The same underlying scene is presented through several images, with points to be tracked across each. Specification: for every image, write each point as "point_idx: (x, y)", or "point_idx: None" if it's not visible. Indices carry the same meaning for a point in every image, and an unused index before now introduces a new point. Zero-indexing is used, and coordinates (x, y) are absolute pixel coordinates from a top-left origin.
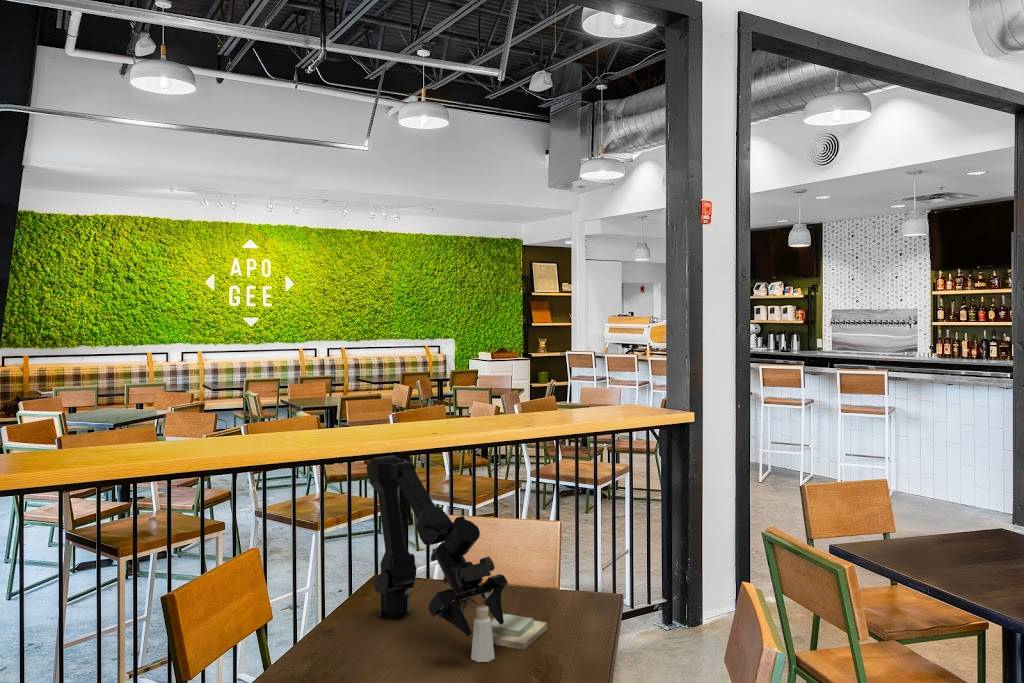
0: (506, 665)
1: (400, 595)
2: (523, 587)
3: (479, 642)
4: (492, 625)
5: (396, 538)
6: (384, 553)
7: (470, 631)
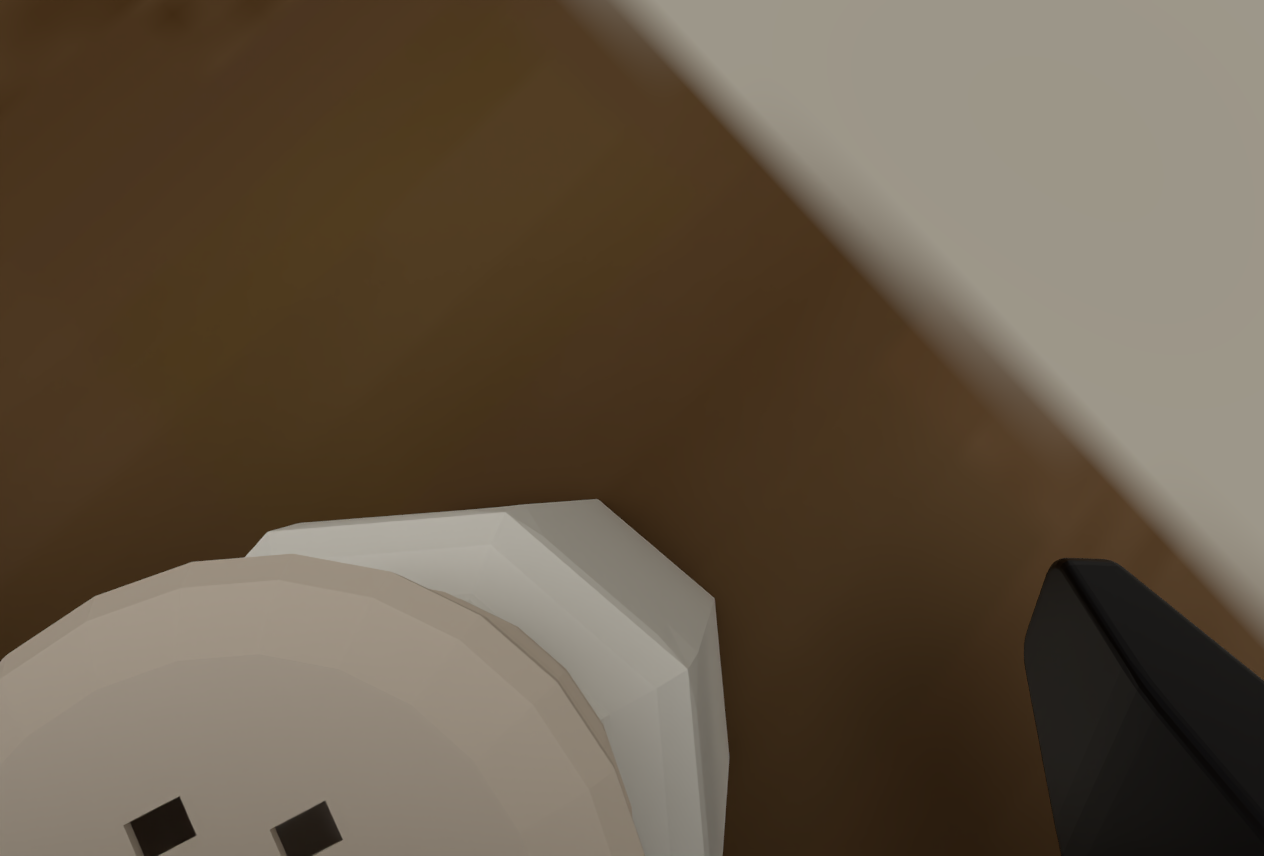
0: (468, 241)
1: None
2: None
3: (695, 608)
4: None
5: None
6: None
7: (1112, 583)
